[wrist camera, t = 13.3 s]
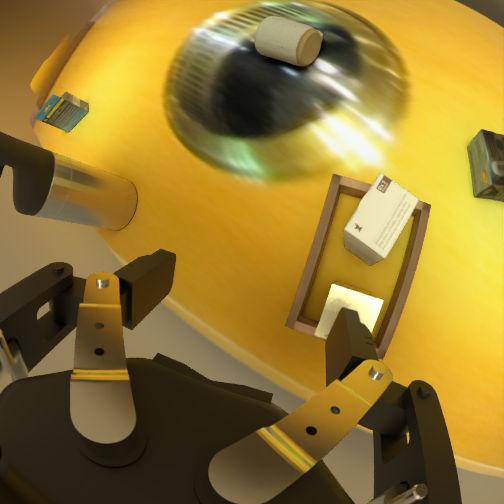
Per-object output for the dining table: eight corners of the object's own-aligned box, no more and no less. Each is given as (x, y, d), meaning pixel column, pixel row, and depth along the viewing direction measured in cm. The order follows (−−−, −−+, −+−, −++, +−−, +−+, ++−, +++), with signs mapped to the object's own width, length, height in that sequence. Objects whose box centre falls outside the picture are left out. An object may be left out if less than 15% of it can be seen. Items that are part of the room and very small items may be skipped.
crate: (290, 320, 33) (284, 325, 30) (334, 183, 33) (333, 173, 29) (379, 350, 29) (382, 359, 26) (423, 211, 29) (430, 204, 25)
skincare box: (371, 266, 31) (386, 265, 19) (341, 245, 32) (340, 232, 20) (397, 224, 30) (424, 201, 18) (368, 204, 31) (379, 169, 20)
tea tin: (322, 316, 32) (314, 335, 23) (335, 279, 32) (332, 283, 22) (358, 328, 31) (363, 351, 21) (371, 291, 30) (383, 300, 21)
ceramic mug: (304, 77, 35) (294, 43, 27) (262, 63, 37) (246, 32, 30) (335, 40, 33) (330, 8, 26) (294, 29, 36) (284, -1, 29)
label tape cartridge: (88, 103, 52) (55, 84, 41) (88, 112, 52) (53, 93, 40) (68, 124, 55) (35, 109, 43) (68, 133, 54) (33, 118, 43)
